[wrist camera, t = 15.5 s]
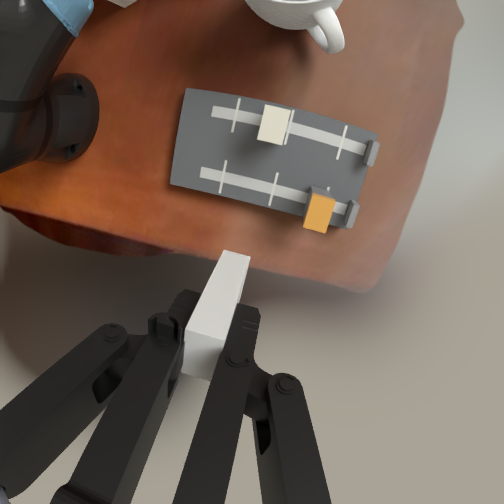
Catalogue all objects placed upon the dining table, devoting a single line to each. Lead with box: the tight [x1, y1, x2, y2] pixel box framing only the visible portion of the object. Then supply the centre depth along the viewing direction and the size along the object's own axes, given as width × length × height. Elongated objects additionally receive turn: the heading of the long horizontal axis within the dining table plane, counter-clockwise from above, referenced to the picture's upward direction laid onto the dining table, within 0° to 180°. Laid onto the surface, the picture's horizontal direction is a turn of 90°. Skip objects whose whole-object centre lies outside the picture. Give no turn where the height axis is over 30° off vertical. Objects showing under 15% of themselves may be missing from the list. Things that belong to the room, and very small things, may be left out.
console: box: [170, 88, 380, 230], centre depth 33 cm, size 24×13×4 cm, turn 77°
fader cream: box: [257, 104, 291, 145], centre depth 29 cm, size 3×4×5 cm
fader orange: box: [303, 186, 336, 233], centre depth 33 cm, size 3×4×5 cm
